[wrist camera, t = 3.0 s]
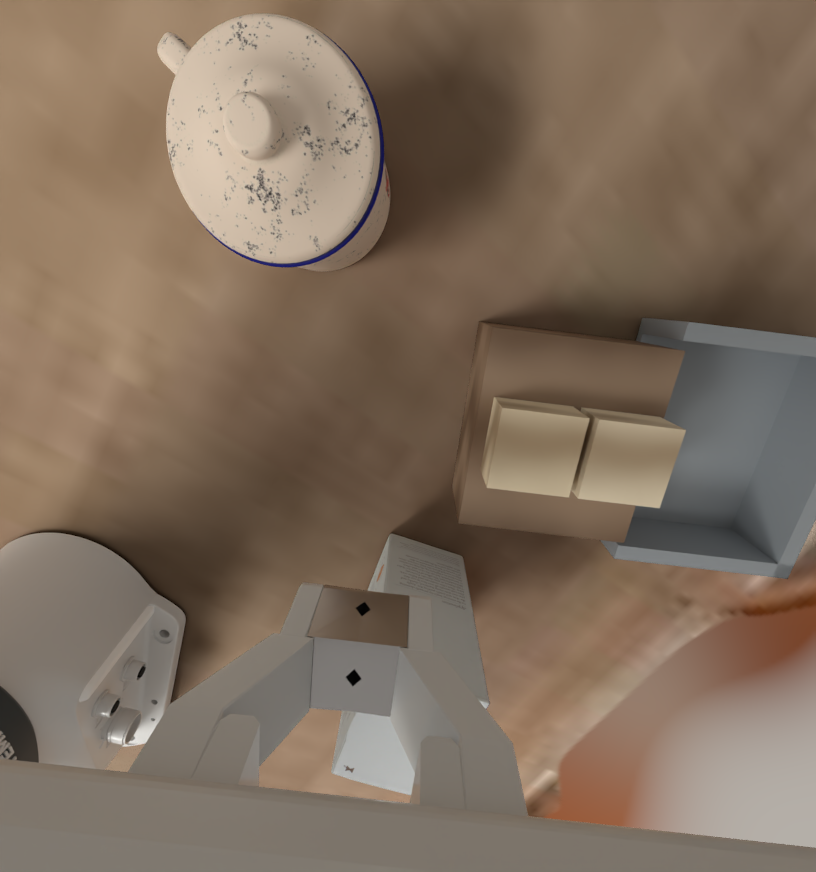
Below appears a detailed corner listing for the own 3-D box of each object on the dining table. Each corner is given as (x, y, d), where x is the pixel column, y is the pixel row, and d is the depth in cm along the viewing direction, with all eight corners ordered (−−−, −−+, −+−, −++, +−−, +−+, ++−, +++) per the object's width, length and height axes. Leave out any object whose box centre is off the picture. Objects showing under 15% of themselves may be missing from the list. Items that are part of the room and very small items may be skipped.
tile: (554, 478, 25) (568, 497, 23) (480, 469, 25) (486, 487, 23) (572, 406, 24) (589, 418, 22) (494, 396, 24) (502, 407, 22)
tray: (733, 537, 32) (787, 578, 28) (585, 519, 32) (614, 558, 28) (815, 338, 28) (897, 347, 23) (642, 317, 28) (688, 321, 23)
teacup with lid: (425, 190, 26) (430, 110, 15) (331, 306, 28) (273, 312, 17) (267, 25, 23) (129, -220, 12) (177, 166, 26) (-7, 67, 15)
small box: (429, 631, 36) (435, 806, 24) (358, 609, 35) (326, 776, 23) (466, 554, 34) (493, 704, 21) (390, 529, 33) (373, 669, 21)
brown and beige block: (590, 502, 32) (623, 542, 27) (451, 486, 32) (458, 523, 26) (635, 340, 28) (685, 351, 23) (478, 321, 28) (492, 327, 23)
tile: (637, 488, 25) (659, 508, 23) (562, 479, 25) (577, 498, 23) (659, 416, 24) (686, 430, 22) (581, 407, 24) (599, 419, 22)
